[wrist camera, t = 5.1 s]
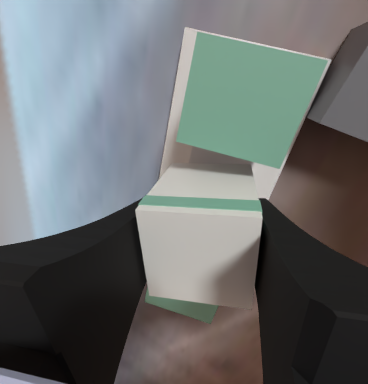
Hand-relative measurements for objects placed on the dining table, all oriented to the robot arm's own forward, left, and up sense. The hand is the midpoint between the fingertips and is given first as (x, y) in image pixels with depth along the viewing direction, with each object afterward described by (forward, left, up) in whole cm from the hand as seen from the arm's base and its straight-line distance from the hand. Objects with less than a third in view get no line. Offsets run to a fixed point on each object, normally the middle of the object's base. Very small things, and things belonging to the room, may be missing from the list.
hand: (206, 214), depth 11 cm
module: (0, 0, -2) cm, 2 cm away
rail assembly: (0, 0, -4) cm, 4 cm away
